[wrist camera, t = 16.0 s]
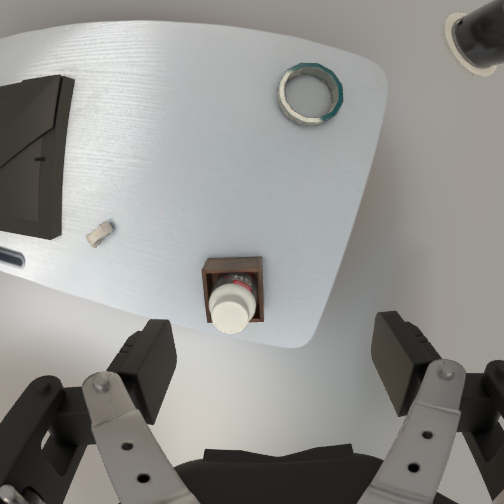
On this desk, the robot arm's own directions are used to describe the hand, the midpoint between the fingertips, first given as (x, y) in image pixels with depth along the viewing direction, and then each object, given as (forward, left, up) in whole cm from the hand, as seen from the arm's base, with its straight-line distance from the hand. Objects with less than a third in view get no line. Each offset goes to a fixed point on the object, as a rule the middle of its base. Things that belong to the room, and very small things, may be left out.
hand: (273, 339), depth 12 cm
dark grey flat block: (+42, -12, -30) cm, 53 cm away
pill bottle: (+4, +10, -29) cm, 31 cm away
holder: (+4, +10, -30) cm, 31 cm away
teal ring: (-6, -14, -30) cm, 33 cm away
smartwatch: (+22, +2, -30) cm, 37 cm away
